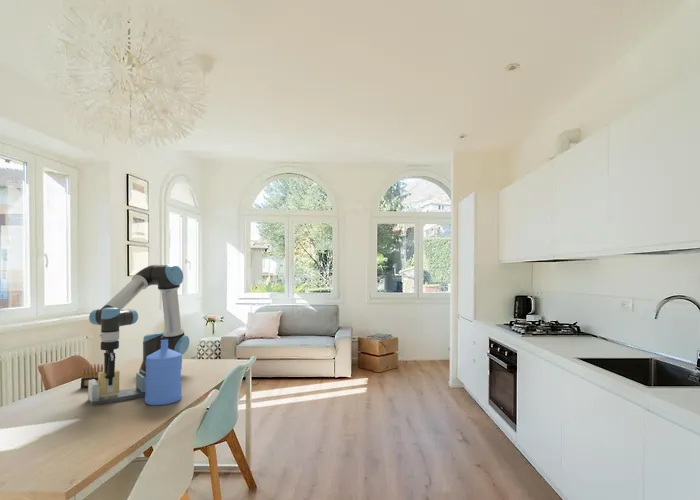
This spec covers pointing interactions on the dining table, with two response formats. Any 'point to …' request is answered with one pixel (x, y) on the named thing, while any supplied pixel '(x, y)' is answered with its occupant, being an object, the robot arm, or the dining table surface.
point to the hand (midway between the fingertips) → (108, 390)
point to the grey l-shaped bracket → (110, 398)
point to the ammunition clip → (90, 374)
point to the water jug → (163, 376)
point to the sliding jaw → (141, 380)
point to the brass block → (103, 382)
